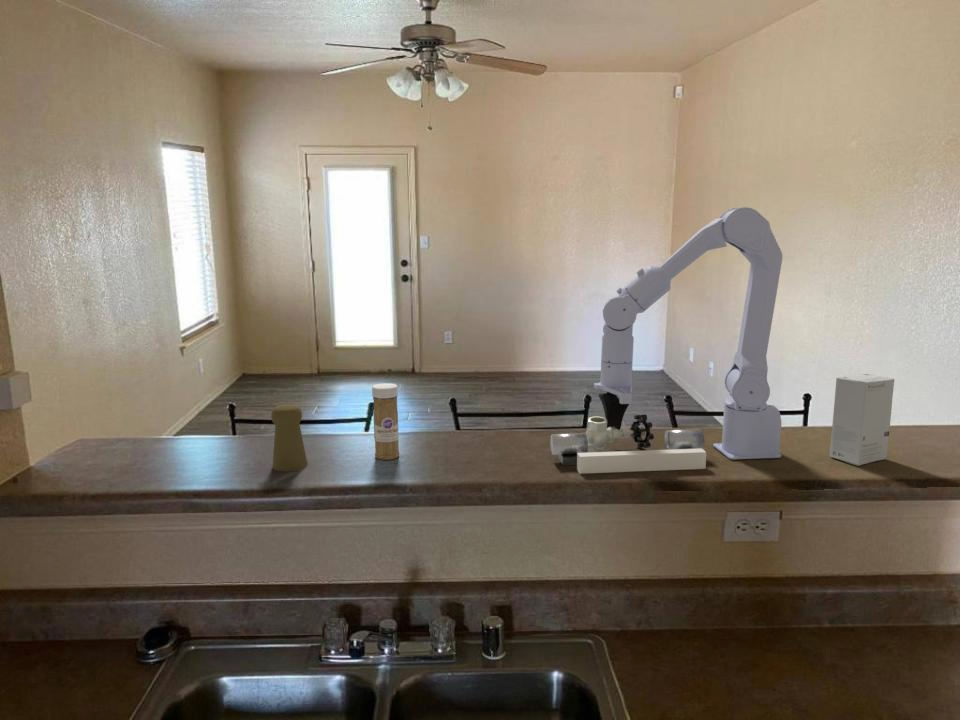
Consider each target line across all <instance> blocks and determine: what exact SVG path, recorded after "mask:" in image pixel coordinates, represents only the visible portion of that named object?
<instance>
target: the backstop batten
mask: <svg viewBox="0 0 960 720" xmlns="http://www.w3.org/2000/svg"><path fill="white" fill-rule="evenodd" d="M706 465H707V452H706V451H705V450H704V448H700V449H672V450H667V449H650V450H647V449H646V450H620V451H605V452H590V453H577V465H576V471H577V473H579V475H581V474H603V473H604V474H605V473H609V474H610V473H625V472H626V473H630V472H652V471H653V472H654V471H656V472H657V471H660V472H661V471H677V470H678V471H683V470H687V471H688V470H706Z"/></svg>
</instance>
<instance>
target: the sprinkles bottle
mask: <svg viewBox="0 0 960 720" xmlns="http://www.w3.org/2000/svg"><path fill="white" fill-rule="evenodd" d="M371 388H372V389H371V396H372V401H373V432H374V433H373V437H374V439H373V440H374V449H375V452H374V457H375V458H376V459H378V460H394V459H397V458H398V457H399V456H400V450H399V438H400V437H399V411H398V395H399V391H398V389H399V388H398V385H397V384H395V383H391V382H390V383H389V382H386V383H385V382H384V383H376V384H374V385H372V387H371Z"/></svg>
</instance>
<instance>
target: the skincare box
mask: <svg viewBox="0 0 960 720" xmlns="http://www.w3.org/2000/svg"><path fill="white" fill-rule="evenodd" d="M894 386H895V378H893V377H888V376H887V377H886V376H882V375H876V374H875V375H874V374H868V373H863V374H862V373H861V374H850V375H843V376H837V377H836V380H835V392H834V403H833V414H832V415H833V416H832V424H831V426H832V427H831V436H830V448H829V457H830V458H834V459H837V460H840V461H843V462H845V463H848V464H849V465H850V464H851V465H853V466H857V467H859V466H863V465H866V464H870V463H873V462H877V461H883V460H886V459H887V458H888V451H889V450H888V448H889V440H890V438H889V437H890V431H891V430H890V429H891V419H892V410H893V409H892V407H893V397H894V388H895V387H894Z"/></svg>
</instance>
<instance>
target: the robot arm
mask: <svg viewBox="0 0 960 720" xmlns="http://www.w3.org/2000/svg"><path fill="white" fill-rule="evenodd" d="M727 244H729V245H730V246H732V247H734V248H736V249H737V250H738V251H739V252H740V253H741V254H742V255H743V256H744V258H745V259H747V261H748V262H749V264H750V268H749V273H748V278H747V279H748V280H747V288H746V293H745V300H744V305H743V313H742V318H741V327H740V332H739V338H738V344H737V350H736V352H735V354H734V356H733V358H732V359H733V360H732V365H731V367H730V369H729V370H728V372H727V373H726V374H725V377H724V386H725V388H726V390H727V392H728V393H729V395H728V396H727V397H726V399H724V401H723V402H724V403H723V404H724V405H723V421H722V422H723V423H722V435H721V436H722V437H721V439H722V440H721V442H720V443H719V442H718V443H716V442H715V443H713V444H712V445H713V447H714V448H715V449H716V450H717V451H719V452H721V453H722V454H723V455H724V456H725V457H727V458H728V459H730V460H748V459H749V460H753V459H754V460H757V459H758V460H759V459H781V458H782V454H781V453H780V447H781V446H780V445H781V436H782V415H781V413H780V410H779V408H777V407H776V406H775V405H773V404H768V403H767V401H768V400H769V398H770V395H771V389H770V388H771V387H770V386H769V383H768V372H769V368H768V360H767V353H768V347H769V342H770V341H769V340H770V335H771V330H772V323H773V318H774V311H775V304H776V299H777V294H778V288H779V283H780V282H779V281H780V275H781V269H782V262H783V252H782V249H781V248H780V246H779V243H778V241H777V239H776V237H775V235H774V233H773V231H772V228H771V224H770V222H769V220H767V218H765V217H764V216H763V215H762V214H761V213H760V212H759V211H758V210H756V209H754V208H752V207H747V206H746V207H745V206H743V207H742V206H741V207H737V208H736V207H735V208H730V209H728V210H726V211H724V212H723V213H722V214H721V215H720V217H717V218H715V219H713V220H712V221H710V222H709V223H707V224H706V225H705V226H703V227H702V228H700V229H699V230H698V231H697V232H695V233H694V235H692V236H691V237H690V238H689V239H688V240H687V241H686V242H685V243H683V244H682V246H680V247H679V248H678V249H677V250H676V251H675V252H674V253H673V254H671V255H670V256H669V257H668V258H667V259H666V260H665V261H664V262H662V263H661V264H660V266H657V265H655V266H654V265H649V266H647V267H646V268H645V269H644V268H640V269H638V270H637V271H636V274H637V276H635V277H634V278H633V279H632V280H631V281H629V283H627V284H626V285H625V286H624V287H623V288H622V287H619V288H617V290H616V293H617V294H618V295H613V296H611V297H610V298H608V299H607V301H606V302H605V303H604V305H603V309H602V317H603V320H604V324H603V328H602V332H603V334H602V337H601V354H600V355H601V358H600V381H599V382H594V383H593V387H594V389H595V390H602V391H605V393H599V394H598V398H599V399H600V401H601V404H602V408H603V412H604V418H606V419H607V428H608V427H613V426H614V427H615V428H616V429H618V430H620V429H622V422H623V419H624V415H625V413H626V411H627V409H628V408H629V405H632V404H633V403H632V402H633V400H632V399H633V393H632V390H633V384H632V383H633V382H632V381H633V379H632V377H633V360H634V359H633V358H634V357H633V356H634V342H635V341H634V338H635V337H634V335H633V328H634V324H635V322H636V319H637V315H638V314H643V313H644V312H646V311H647V310H648V309H649V308H650V307H651V306H652V305H654V304H655V303H656V302H657V301H658V300H659V299H661V298H663V297H664V295H666V294H667V293H668V292H669V291H670V290H671V283H672V279H673V278H675V277H676V276H677V275H679V274H680V273H681V272H683V271H684V270H685V269H686V268H688V267H689V266H690V265H691V264H693V263H694V262H695V261H697V259H699V258H700V257H702V256H703V255H704V254H705V253H707V252H708V251H712V250H717V249H721V248H722V249H723V248H726V247H727V246H728V245H727Z"/></svg>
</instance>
